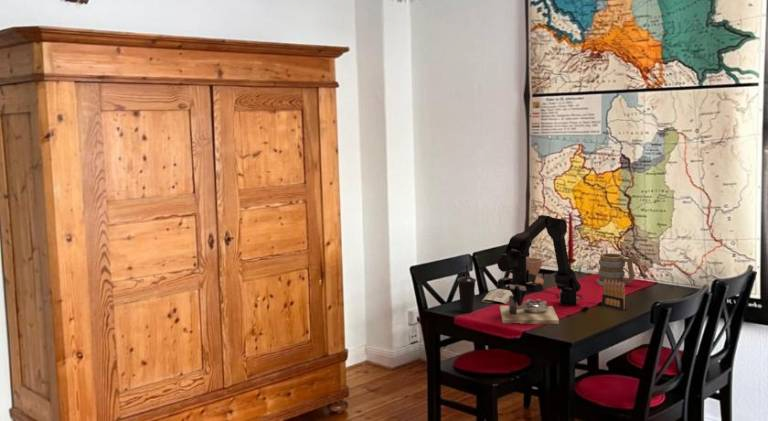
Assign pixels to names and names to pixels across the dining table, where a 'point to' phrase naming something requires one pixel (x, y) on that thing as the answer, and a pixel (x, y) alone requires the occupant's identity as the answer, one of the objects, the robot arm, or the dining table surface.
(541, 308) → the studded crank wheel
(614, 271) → the tankard
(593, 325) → the dining table surface
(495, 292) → the newspaper
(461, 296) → the drinking cup
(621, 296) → the ammunition clip
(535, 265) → the ceramic jug
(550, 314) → the birch board
